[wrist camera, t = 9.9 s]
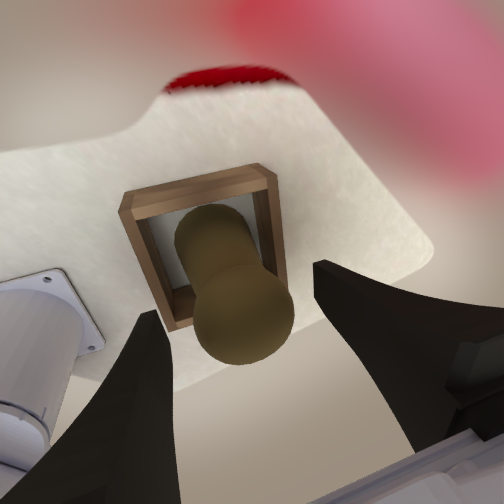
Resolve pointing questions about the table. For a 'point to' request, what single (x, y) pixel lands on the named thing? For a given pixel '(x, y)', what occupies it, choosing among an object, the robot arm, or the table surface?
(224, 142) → the table surface
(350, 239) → the table surface
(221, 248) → the olive game pawn
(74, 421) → the robot arm
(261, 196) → the walnut stand
